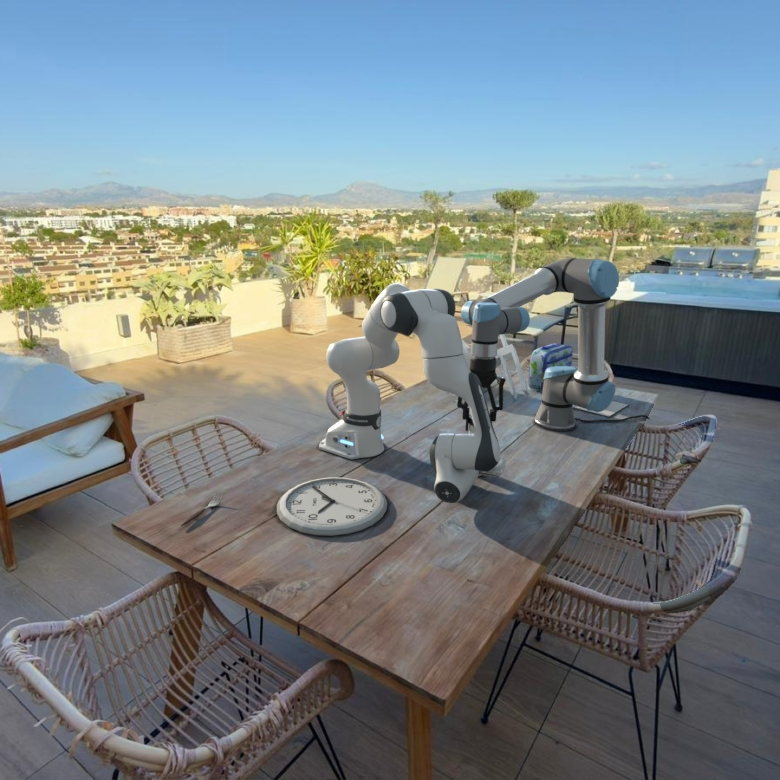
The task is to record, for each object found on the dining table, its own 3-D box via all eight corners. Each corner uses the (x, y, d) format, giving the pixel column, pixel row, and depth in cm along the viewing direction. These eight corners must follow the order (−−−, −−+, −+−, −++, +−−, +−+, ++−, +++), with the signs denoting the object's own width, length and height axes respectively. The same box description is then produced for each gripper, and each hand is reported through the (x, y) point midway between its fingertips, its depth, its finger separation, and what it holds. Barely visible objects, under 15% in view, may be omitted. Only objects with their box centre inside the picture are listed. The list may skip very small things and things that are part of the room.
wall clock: (392, 527, 129) (268, 531, 127) (391, 533, 130) (269, 537, 127) (383, 473, 158) (282, 475, 155) (383, 478, 158) (282, 480, 156)
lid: (487, 419, 162) (488, 413, 161) (491, 427, 156) (491, 420, 155) (466, 419, 162) (467, 412, 161) (469, 426, 156) (470, 420, 155)
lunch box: (544, 395, 239) (549, 351, 233) (524, 390, 247) (528, 347, 240) (571, 384, 257) (577, 343, 251) (552, 380, 264) (556, 339, 258)
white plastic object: (461, 429, 252) (437, 405, 227) (444, 352, 274) (420, 323, 250) (535, 404, 240) (518, 377, 215) (510, 326, 262) (492, 293, 237)
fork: (176, 526, 131) (176, 519, 130) (217, 497, 145) (217, 491, 145) (185, 528, 130) (184, 521, 130) (225, 499, 145) (224, 492, 144)
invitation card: (608, 416, 214) (573, 407, 224) (608, 416, 214) (573, 408, 224) (628, 404, 229) (594, 396, 238) (628, 405, 229) (594, 397, 238)
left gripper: (501, 466, 145) (511, 448, 158) (431, 452, 153) (446, 436, 166) (499, 486, 147) (509, 467, 159) (431, 472, 155) (445, 454, 167)
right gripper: (515, 355, 155) (509, 427, 162) (450, 351, 157) (447, 423, 164) (518, 361, 148) (511, 436, 155) (450, 357, 150) (446, 432, 157)
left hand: (477, 451), depth 163 cm, fingers closed on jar, 5 cm apart
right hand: (478, 429), depth 159 cm, fingers closed on lid, 6 cm apart
